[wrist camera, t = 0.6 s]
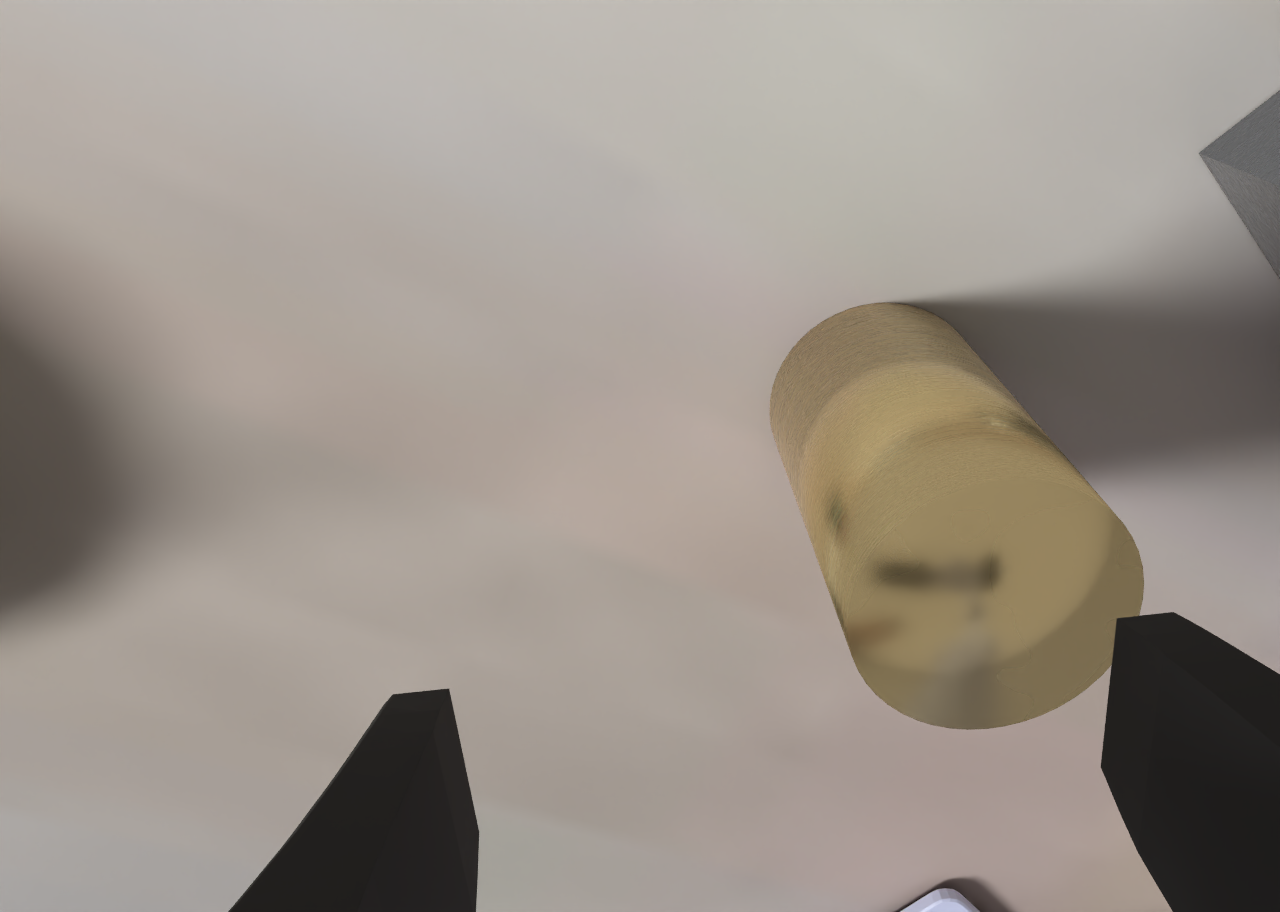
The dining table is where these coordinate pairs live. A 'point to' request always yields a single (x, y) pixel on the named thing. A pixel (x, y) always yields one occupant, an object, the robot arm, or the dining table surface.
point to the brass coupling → (947, 523)
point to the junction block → (1252, 174)
